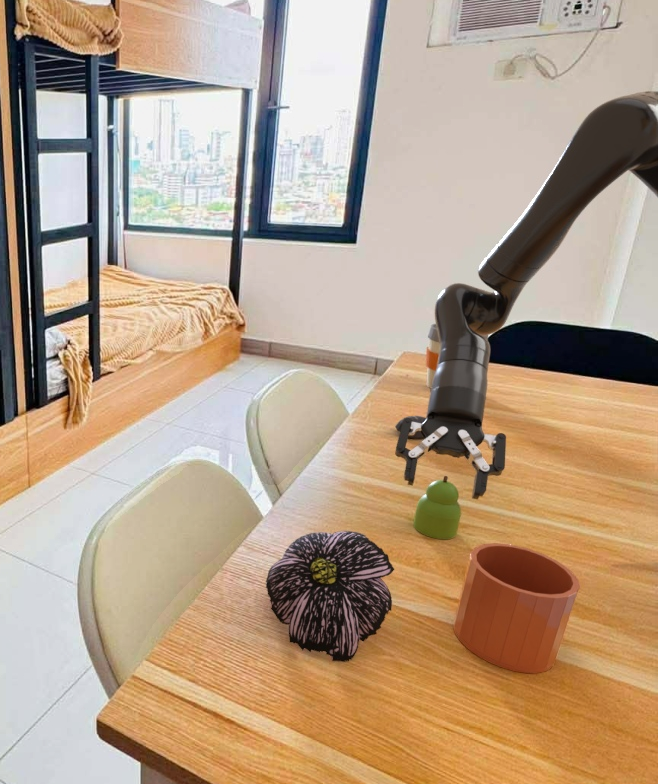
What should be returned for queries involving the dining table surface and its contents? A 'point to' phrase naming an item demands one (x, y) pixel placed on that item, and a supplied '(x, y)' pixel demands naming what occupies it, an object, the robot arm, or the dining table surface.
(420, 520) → the green pear
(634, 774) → the dining table surface
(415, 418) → the computer mouse
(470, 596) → the terracotta cup
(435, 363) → the reusable coffee cup
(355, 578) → the decorative flower
